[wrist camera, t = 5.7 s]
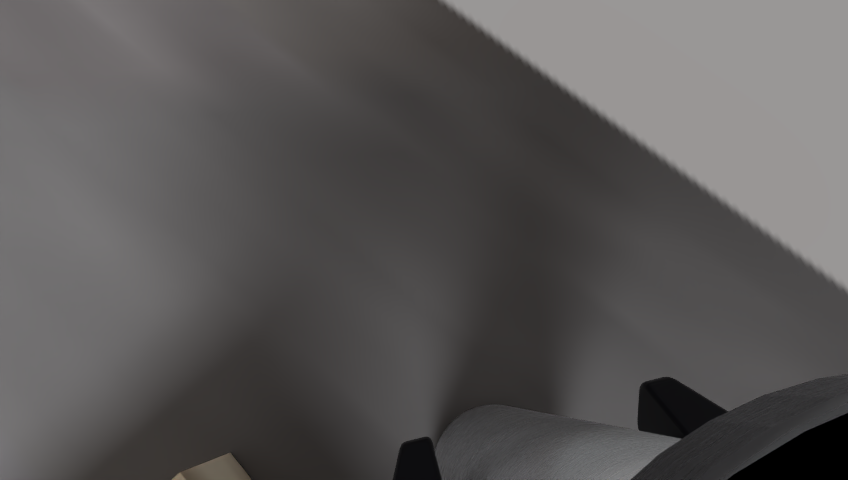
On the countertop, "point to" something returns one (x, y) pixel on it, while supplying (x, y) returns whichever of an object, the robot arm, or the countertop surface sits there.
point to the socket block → (215, 470)
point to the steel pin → (658, 443)
